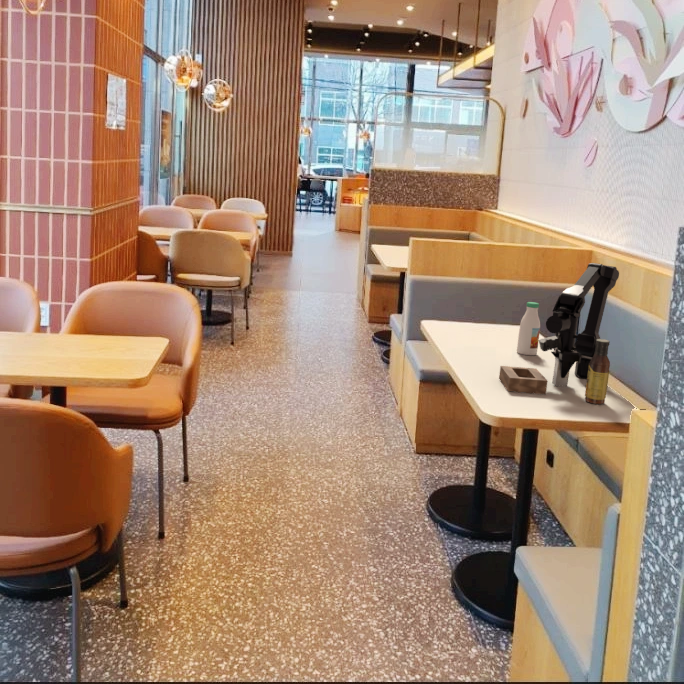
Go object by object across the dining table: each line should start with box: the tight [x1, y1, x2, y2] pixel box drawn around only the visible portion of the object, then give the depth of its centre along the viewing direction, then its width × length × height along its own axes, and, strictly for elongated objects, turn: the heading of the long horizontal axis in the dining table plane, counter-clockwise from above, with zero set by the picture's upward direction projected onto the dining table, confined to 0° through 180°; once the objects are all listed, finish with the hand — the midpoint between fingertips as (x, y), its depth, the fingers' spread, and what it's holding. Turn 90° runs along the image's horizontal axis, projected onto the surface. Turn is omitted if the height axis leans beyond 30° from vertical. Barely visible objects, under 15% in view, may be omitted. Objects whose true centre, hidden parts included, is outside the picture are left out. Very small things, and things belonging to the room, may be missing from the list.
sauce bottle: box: [584, 338, 611, 405], centre depth 259 cm, size 6×6×20 cm
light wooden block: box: [552, 356, 571, 388], centre depth 279 cm, size 4×4×9 cm
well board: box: [498, 365, 549, 395], centre depth 273 cm, size 12×16×4 cm
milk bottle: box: [516, 301, 541, 356], centre depth 324 cm, size 8×8×20 cm
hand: (560, 376), depth 279 cm, fingers closed on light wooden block, 4 cm apart
